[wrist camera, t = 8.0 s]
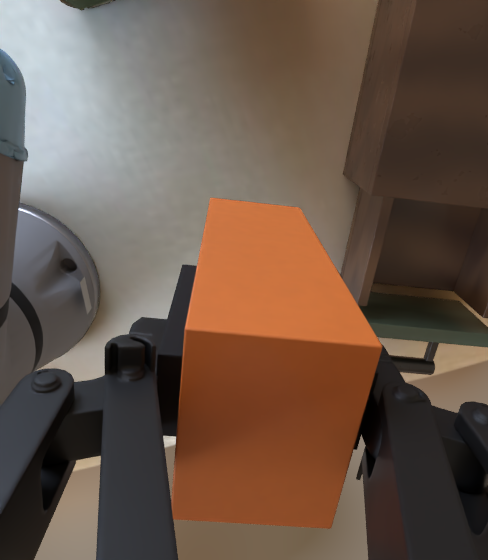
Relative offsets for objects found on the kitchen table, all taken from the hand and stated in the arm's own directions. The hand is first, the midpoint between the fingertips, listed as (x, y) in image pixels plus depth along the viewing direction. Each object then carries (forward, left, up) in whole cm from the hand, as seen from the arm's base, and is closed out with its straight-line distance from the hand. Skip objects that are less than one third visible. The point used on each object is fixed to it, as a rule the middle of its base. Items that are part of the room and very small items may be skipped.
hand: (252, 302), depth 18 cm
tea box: (0, 0, -5) cm, 5 cm away
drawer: (+15, 0, -20) cm, 25 cm away
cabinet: (+12, +14, -21) cm, 28 cm away
